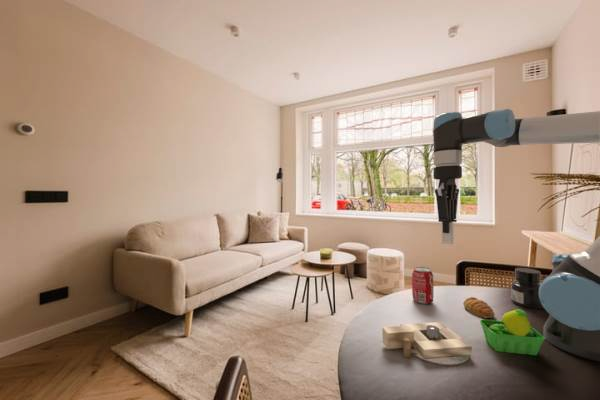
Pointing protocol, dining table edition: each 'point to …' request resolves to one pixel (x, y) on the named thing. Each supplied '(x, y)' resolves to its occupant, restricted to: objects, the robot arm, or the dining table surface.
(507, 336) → the fruit basket
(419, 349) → the wooden block frame
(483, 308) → the pastry
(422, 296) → the soda can
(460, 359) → the pot lid
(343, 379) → the dining table surface
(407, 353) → the dowel
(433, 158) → the robot arm
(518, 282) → the ink bottle
